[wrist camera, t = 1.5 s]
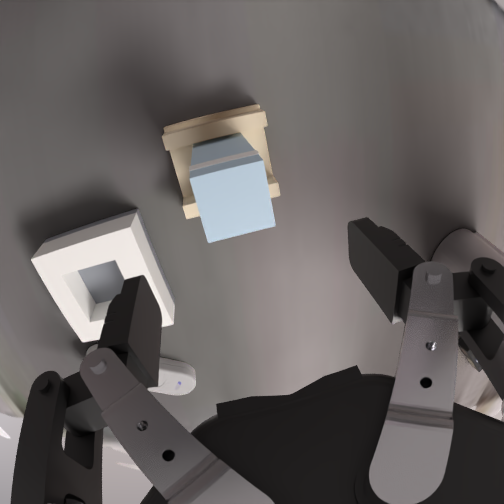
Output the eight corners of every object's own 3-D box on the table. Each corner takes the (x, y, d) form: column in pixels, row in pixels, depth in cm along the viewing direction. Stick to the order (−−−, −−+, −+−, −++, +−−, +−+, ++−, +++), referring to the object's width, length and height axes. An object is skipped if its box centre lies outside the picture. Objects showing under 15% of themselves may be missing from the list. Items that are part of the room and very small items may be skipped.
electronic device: (193, 442, 34) (75, 421, 28) (188, 383, 42) (86, 361, 37) (206, 424, 32) (74, 400, 26) (199, 361, 40) (88, 336, 34)
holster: (257, 104, 25) (264, 106, 22) (273, 188, 29) (281, 200, 26) (164, 126, 24) (160, 131, 22) (188, 209, 28) (187, 223, 26)
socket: (138, 208, 28) (130, 226, 24) (175, 299, 33) (173, 324, 30) (46, 239, 27) (30, 259, 24) (90, 318, 33) (82, 342, 29)
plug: (240, 131, 25) (264, 159, 16) (250, 176, 27) (276, 226, 18) (192, 143, 24) (188, 178, 16) (204, 188, 27) (207, 244, 18)
